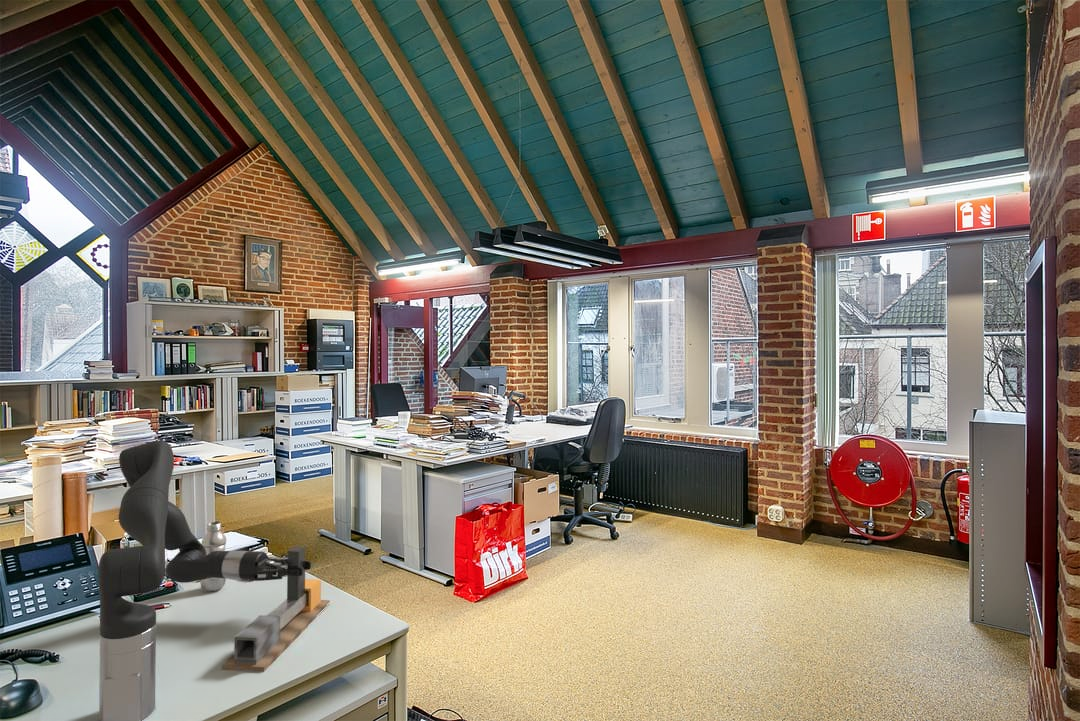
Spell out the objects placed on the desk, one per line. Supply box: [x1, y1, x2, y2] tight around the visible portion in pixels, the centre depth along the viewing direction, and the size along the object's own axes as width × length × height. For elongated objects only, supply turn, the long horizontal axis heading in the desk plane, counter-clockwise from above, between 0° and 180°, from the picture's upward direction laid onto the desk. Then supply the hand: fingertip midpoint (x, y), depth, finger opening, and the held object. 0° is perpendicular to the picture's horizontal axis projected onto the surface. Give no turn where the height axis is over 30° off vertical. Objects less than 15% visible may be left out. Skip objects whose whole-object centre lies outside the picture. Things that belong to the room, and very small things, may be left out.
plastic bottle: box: [199, 521, 227, 592], centre depth 179 cm, size 6×7×20 cm
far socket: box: [301, 578, 322, 612], centre depth 167 cm, size 6×6×6 cm
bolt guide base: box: [220, 599, 331, 673], centre depth 153 cm, size 36×10×7 cm, turn 176°
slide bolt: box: [267, 545, 309, 630], centre depth 156 cm, size 22×3×16 cm, turn 176°
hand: (306, 568), depth 160 cm, fingers closed on slide bolt, 4 cm apart
